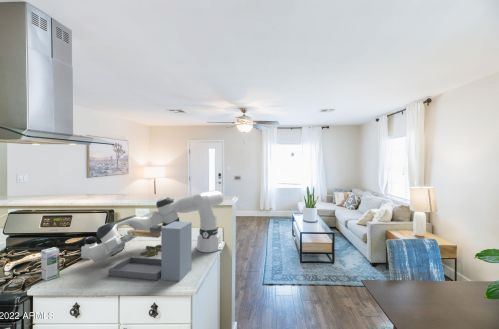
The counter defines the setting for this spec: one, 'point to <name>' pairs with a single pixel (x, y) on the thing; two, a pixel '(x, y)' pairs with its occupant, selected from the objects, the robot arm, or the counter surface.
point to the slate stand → (176, 250)
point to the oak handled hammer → (147, 232)
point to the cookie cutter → (151, 253)
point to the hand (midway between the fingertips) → (135, 232)
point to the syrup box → (50, 263)
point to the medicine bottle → (88, 247)
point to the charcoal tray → (137, 269)
